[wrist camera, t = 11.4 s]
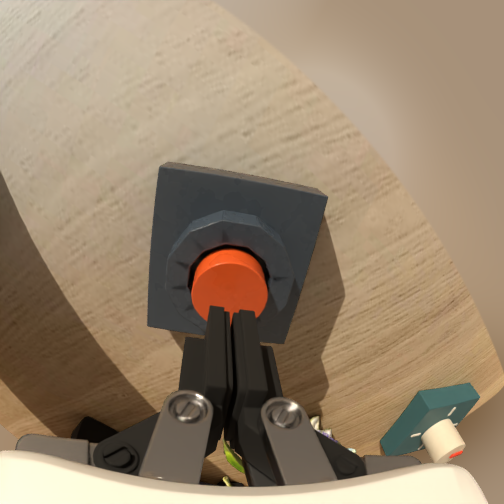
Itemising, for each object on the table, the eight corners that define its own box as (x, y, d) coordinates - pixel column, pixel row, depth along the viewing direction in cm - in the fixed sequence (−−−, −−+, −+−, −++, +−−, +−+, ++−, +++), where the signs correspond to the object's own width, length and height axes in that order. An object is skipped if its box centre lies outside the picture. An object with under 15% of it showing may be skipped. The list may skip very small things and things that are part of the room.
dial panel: (418, 390, 27) (430, 410, 24) (469, 382, 29) (481, 397, 26) (379, 441, 31) (387, 459, 28) (431, 430, 32) (440, 445, 29)
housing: (167, 161, 17) (150, 171, 13) (317, 188, 18) (340, 205, 14) (153, 307, 20) (141, 344, 17) (279, 325, 22) (288, 362, 18)
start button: (199, 242, 15) (195, 256, 13) (270, 253, 15) (276, 268, 14) (191, 303, 16) (187, 323, 15) (256, 312, 17) (259, 332, 15)
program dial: (414, 443, 27) (428, 471, 23) (433, 421, 26) (450, 451, 21) (437, 436, 28) (451, 462, 24) (456, 415, 27) (472, 442, 22)
